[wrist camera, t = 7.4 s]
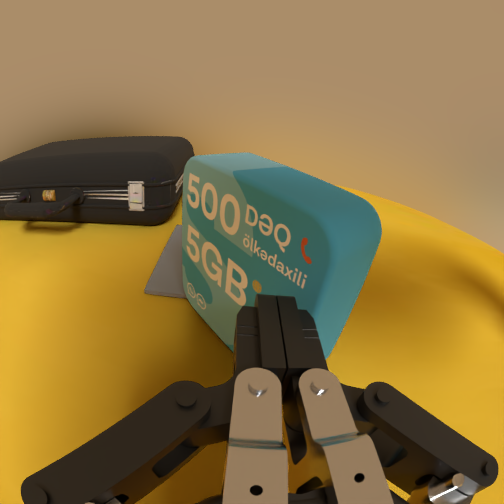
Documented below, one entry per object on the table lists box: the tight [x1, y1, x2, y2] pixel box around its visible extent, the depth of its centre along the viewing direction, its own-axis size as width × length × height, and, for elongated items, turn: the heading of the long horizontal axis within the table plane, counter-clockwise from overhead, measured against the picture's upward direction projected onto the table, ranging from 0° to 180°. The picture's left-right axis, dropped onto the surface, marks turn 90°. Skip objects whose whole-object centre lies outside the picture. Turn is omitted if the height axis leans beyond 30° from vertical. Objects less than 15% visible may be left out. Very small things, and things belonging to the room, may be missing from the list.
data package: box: [182, 153, 382, 359], centre depth 17 cm, size 12×4×12 cm, turn 40°
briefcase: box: [0, 136, 194, 226], centre depth 37 cm, size 36×32×10 cm
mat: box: [144, 225, 187, 298], centre depth 29 cm, size 14×18×1 cm
